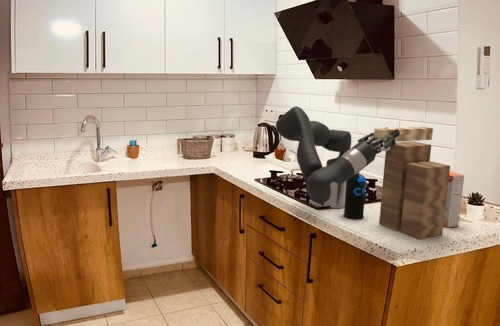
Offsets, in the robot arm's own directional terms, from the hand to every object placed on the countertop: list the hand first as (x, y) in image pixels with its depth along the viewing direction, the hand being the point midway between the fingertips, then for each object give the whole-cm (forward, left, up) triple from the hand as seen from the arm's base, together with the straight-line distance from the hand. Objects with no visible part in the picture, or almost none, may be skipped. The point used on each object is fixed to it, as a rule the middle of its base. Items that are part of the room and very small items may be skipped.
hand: (393, 130), depth 156 cm
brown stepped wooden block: (+12, +19, -39) cm, 45 cm away
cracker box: (+24, +32, -39) cm, 56 cm away
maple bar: (+4, +3, -3) cm, 6 cm away
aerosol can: (-10, +29, -39) cm, 50 cm away
